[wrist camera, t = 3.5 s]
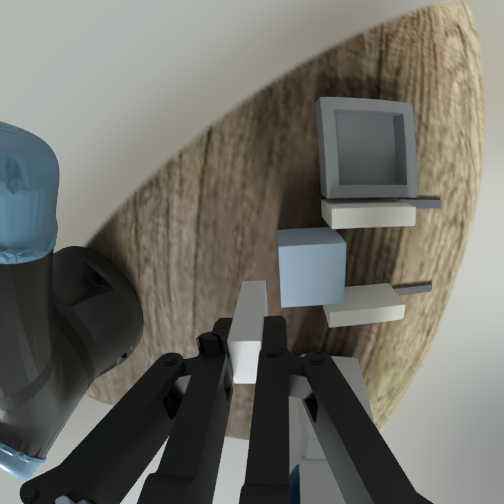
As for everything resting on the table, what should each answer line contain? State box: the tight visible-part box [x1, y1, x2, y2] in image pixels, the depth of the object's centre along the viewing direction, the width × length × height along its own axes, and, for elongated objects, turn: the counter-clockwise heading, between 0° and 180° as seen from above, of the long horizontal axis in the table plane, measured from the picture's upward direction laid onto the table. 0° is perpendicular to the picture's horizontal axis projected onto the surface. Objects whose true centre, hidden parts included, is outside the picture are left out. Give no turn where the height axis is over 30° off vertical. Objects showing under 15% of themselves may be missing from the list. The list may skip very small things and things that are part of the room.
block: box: [277, 227, 346, 307], centre depth 23 cm, size 5×5×5 cm
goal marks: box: [393, 199, 441, 295], centre depth 24 cm, size 5×10×1 cm, turn 5°
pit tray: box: [315, 97, 417, 199], centre depth 21 cm, size 8×8×3 cm
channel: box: [321, 198, 416, 328], centre depth 23 cm, size 7×10×4 cm
